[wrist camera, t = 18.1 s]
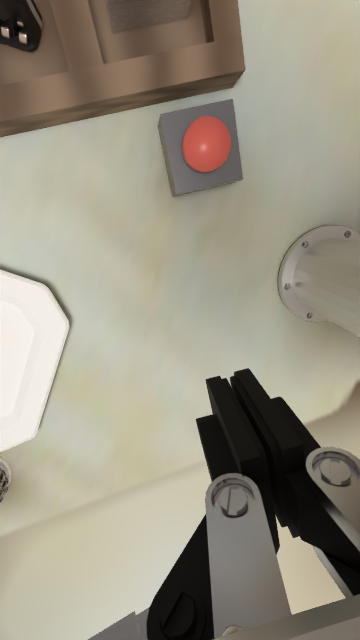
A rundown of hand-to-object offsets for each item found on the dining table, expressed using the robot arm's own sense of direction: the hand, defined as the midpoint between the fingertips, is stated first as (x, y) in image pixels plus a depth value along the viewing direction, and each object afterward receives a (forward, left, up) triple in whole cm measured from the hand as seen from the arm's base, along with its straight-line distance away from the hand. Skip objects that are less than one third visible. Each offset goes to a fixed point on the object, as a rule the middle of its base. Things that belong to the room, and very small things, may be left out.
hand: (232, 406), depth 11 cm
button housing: (-6, -12, -27) cm, 30 cm away
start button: (-6, -12, -23) cm, 27 cm away
